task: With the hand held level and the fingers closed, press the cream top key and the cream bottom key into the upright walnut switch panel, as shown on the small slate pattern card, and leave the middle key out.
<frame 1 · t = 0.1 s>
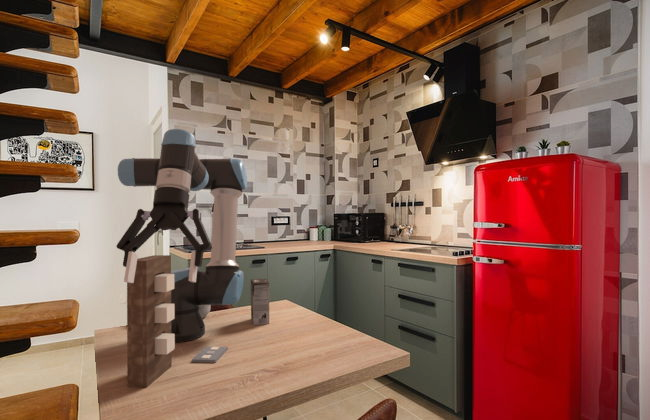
hand: (160, 282, 77), 28 cm above the table, tool tilted 20°, fingers open, 13 cm apart
coffee box: (259, 321, 140), on the table
middle key: (163, 313, 93), point 17 cm above the table, slide at 0.0 cm
top key: (163, 282, 93), point 25 cm above the table, slide at 0.0 cm
pattern card: (210, 355, 106), on the table
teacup: (198, 316, 148), on the table
switch panel: (160, 376, 93), on the table
bottom key: (163, 343, 93), point 8 cm above the table, slide at 0.0 cm
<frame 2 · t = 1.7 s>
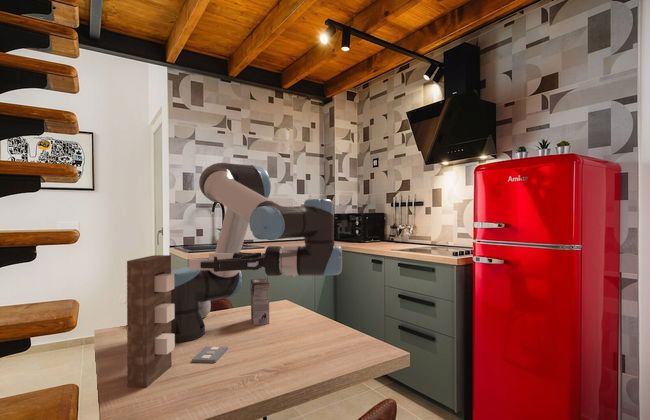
hand: (200, 261, 92), 30 cm above the table, tool horizontal, fingers open, 12 cm apart
nothing on the table moved.
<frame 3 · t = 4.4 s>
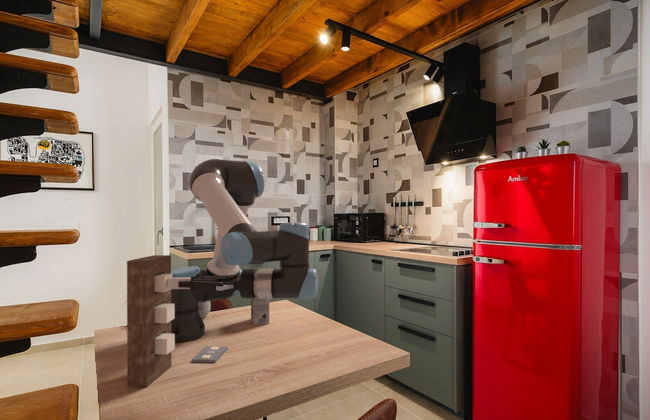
hand: (169, 283, 93), 24 cm above the table, tool horizontal, fingers closed
top key: (161, 282, 93), point 25 cm above the table, slide at 0.6 cm, touching gripper
everything else where it was.
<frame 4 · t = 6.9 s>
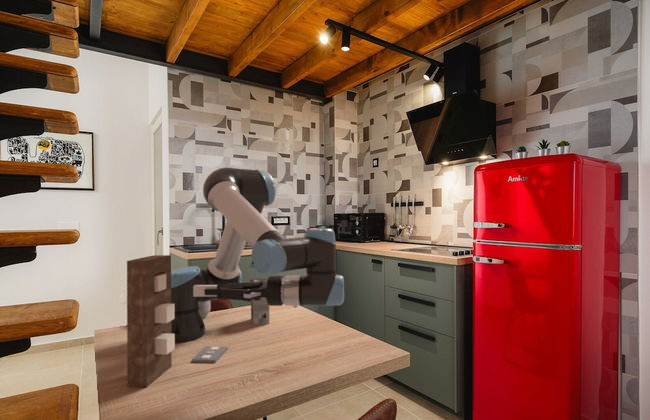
hand: (194, 290, 92), 22 cm above the table, tool horizontal, fingers closed
top key: (155, 282, 93), point 25 cm above the table, slide at 2.2 cm
everything else where it was.
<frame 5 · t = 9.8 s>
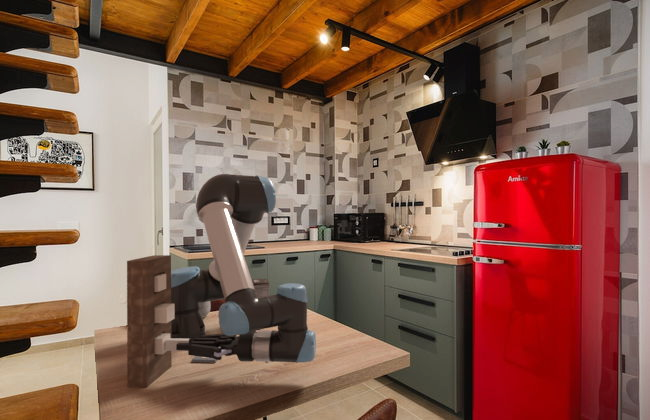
hand: (167, 344, 93), 8 cm above the table, tool horizontal, fingers closed
bottom key: (159, 343, 93), point 9 cm above the table, slide at 1.2 cm
everything else where it was.
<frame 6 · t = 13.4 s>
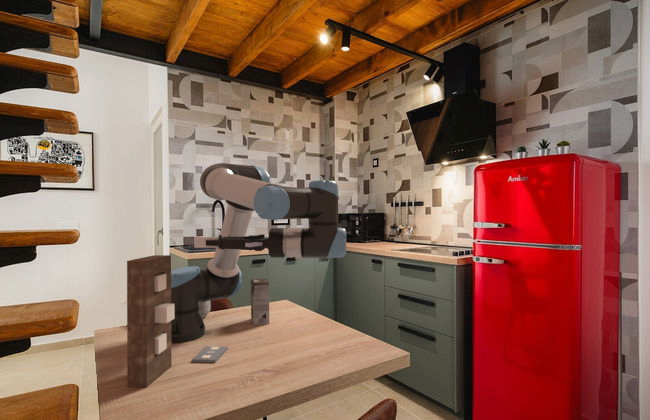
hand: (195, 242, 92), 35 cm above the table, tool horizontal, fingers closed
bottom key: (155, 343, 93), point 8 cm above the table, slide at 2.2 cm
everything else where it was.
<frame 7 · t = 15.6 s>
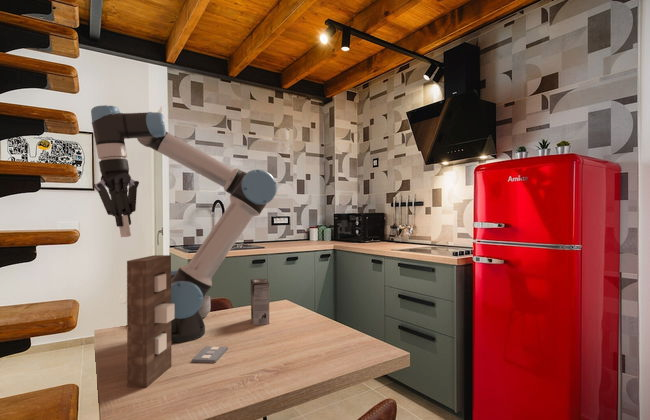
hand: (126, 236, 108), 36 cm above the table, tool pointing down, fingers closed
nothing on the table moved.
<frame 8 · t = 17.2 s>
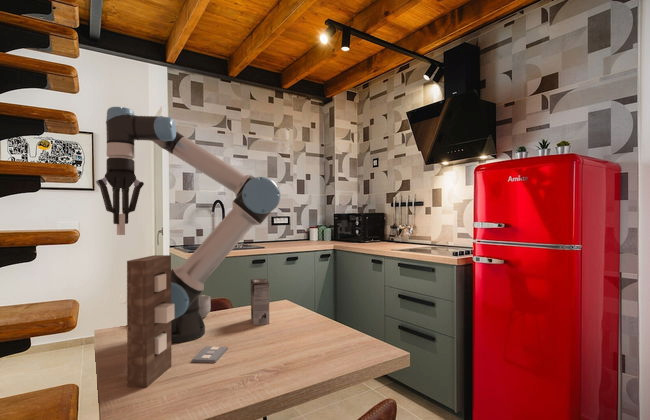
hand: (120, 234, 109), 36 cm above the table, tool pointing down, fingers closed
nothing on the table moved.
at the end: top key slide at 2.2 cm; bottom key slide at 2.2 cm; middle key slide at 0.0 cm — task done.
